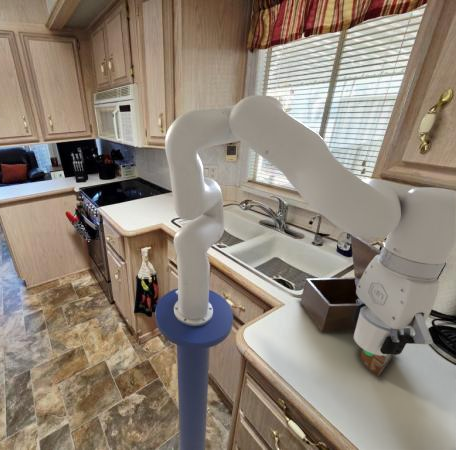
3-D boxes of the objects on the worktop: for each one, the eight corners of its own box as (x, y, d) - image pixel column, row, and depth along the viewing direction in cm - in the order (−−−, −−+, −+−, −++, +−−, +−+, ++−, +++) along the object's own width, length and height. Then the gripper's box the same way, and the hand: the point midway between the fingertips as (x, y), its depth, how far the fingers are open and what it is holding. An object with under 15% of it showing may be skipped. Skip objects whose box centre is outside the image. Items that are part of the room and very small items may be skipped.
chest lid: (384, 256, 62) (411, 248, 61) (350, 233, 73) (372, 227, 72) (386, 303, 68) (410, 297, 67) (354, 276, 79) (374, 270, 78)
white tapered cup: (342, 328, 54) (352, 304, 51) (377, 330, 53) (389, 305, 50) (363, 357, 48) (375, 331, 45) (402, 359, 47) (417, 333, 44)
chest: (321, 331, 73) (329, 306, 69) (300, 302, 84) (305, 278, 80) (376, 330, 72) (387, 304, 68) (347, 300, 84) (355, 277, 80)
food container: (366, 337, 70) (377, 311, 66) (394, 353, 65) (408, 325, 61) (346, 361, 64) (356, 333, 60) (375, 380, 60) (389, 351, 55)
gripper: (351, 237, 50) (328, 304, 58) (436, 296, 34) (389, 378, 42) (390, 236, 50) (362, 304, 57) (494, 296, 34) (436, 379, 41)
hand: (374, 335), depth 49 cm, fingers closed on white tapered cup, 6 cm apart
